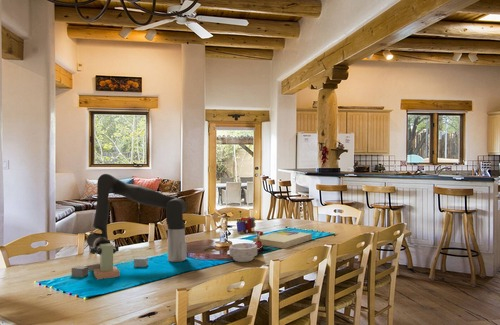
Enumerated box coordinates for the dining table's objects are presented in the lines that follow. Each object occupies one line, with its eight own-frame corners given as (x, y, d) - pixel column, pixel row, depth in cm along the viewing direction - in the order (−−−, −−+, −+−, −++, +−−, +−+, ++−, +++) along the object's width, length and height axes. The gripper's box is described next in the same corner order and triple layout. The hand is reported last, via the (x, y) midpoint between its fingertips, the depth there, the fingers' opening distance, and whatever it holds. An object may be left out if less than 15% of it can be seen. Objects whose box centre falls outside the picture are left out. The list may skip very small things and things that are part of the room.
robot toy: (233, 234, 306) (251, 228, 320) (241, 235, 300) (260, 229, 314) (231, 211, 305) (249, 206, 319) (240, 212, 298) (258, 207, 313)
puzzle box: (252, 244, 266) (283, 249, 251) (252, 237, 266) (283, 241, 251) (283, 236, 294) (312, 240, 280) (283, 230, 294) (312, 233, 280)
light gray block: (147, 265, 214) (147, 257, 214) (145, 267, 210) (145, 259, 210) (136, 264, 214) (136, 257, 214) (133, 266, 210) (133, 259, 210)
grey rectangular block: (88, 275, 196) (87, 266, 196) (82, 277, 192) (82, 268, 192) (77, 274, 197) (77, 265, 197) (71, 276, 193) (71, 267, 193)
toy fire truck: (253, 251, 245) (253, 234, 245) (258, 246, 259) (258, 230, 259) (259, 251, 245) (259, 235, 244) (263, 246, 258) (263, 231, 258)
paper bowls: (223, 261, 221) (223, 246, 221) (239, 255, 233) (239, 241, 233) (247, 265, 212) (247, 249, 212) (262, 259, 225) (262, 244, 225)
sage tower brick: (111, 268, 198) (111, 243, 198) (113, 270, 194) (113, 245, 194) (100, 269, 196) (100, 244, 196) (101, 271, 191) (102, 246, 191)
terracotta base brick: (115, 272, 202) (115, 266, 202) (119, 277, 193) (119, 271, 193) (93, 275, 197) (93, 269, 197) (97, 280, 188) (97, 274, 188)
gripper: (86, 239, 204) (90, 245, 189) (116, 236, 211) (123, 242, 196) (86, 254, 204) (90, 261, 189) (116, 251, 211) (123, 258, 196)
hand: (107, 251), depth 193 cm, fingers open, 5 cm apart
